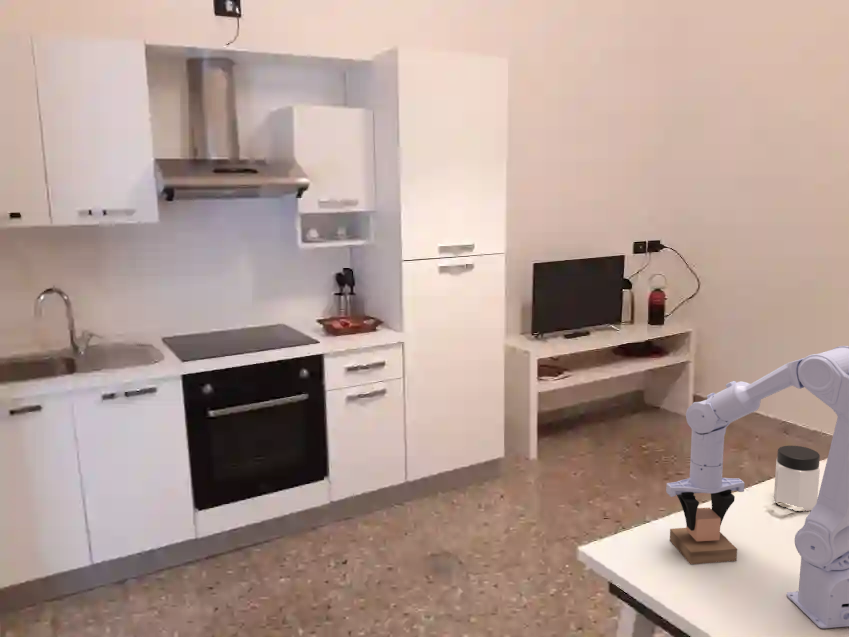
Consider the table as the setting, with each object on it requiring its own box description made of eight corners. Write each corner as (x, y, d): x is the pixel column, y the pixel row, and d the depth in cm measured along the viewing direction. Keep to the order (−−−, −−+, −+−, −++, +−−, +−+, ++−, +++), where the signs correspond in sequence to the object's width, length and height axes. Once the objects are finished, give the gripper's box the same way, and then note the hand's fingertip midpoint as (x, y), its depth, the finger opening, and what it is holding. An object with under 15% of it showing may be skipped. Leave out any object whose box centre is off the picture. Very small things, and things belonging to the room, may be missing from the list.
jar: (824, 504, 152) (828, 452, 149) (808, 516, 146) (812, 463, 144) (782, 491, 158) (785, 441, 156) (765, 502, 153) (769, 451, 151)
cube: (719, 540, 132) (720, 518, 131) (696, 541, 132) (697, 519, 131) (708, 528, 136) (709, 507, 135) (686, 529, 136) (687, 508, 135)
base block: (736, 560, 131) (737, 548, 130) (690, 564, 130) (690, 552, 129) (713, 537, 139) (713, 525, 139) (669, 540, 139) (670, 528, 138)
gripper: (732, 450, 135) (728, 514, 138) (660, 455, 134) (658, 519, 137) (752, 465, 129) (747, 532, 131) (676, 469, 128) (673, 537, 130)
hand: (703, 527), depth 134 cm, fingers closed on cube, 4 cm apart
